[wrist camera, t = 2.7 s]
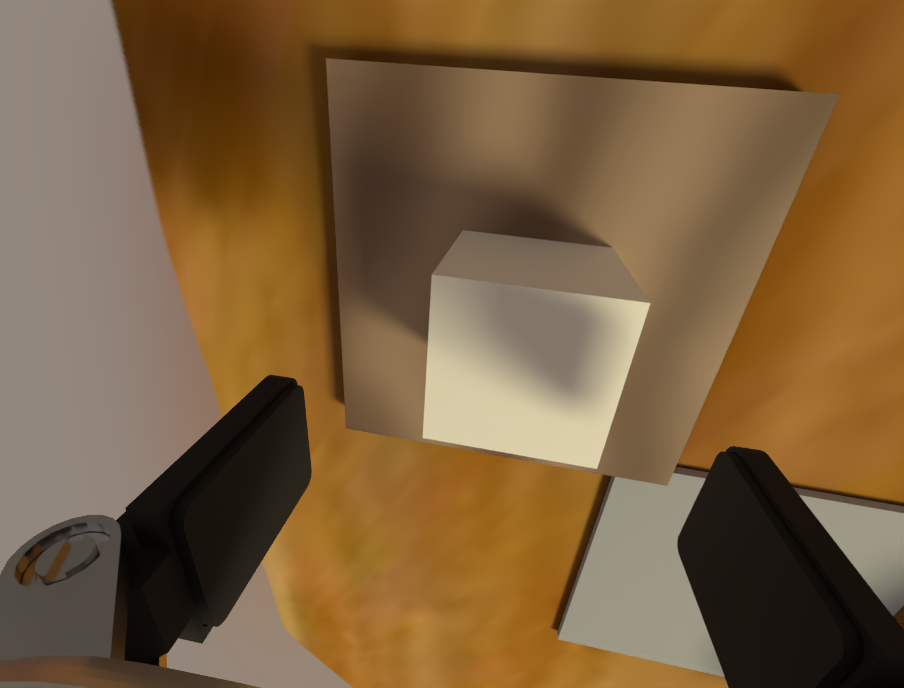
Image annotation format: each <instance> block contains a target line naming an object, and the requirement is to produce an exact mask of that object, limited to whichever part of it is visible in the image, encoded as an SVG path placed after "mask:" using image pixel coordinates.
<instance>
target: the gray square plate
mask: <svg viewBox="0 0 904 688" xmlns="http://www.w3.org/2000/svg"><path fill="white" fill-rule="evenodd" d="M708 473H709V472H703V471H697V470H692V469H686V468H680V467H675V470H674V472H673V474H672V476H671V479H670V481H669V483H668V486H664V485H659V484H653V483H648V482H642V481H637V480H631V479H625V478H620V477H614V476H611V479H610V482H609V485H608V488H607V491H606V493H605V496H604V499H603V502H602V505H601V508H600V511H599V514H598V516H597V519H596V522H595V525H594V528H593V531H592V534H591V537H590V539H589V542H588V545H587V548H586V551H585V554H584V557H583V559H582V562H581V565H580V568H579V571H578V574H577V577H576V580H575V582H574V585H573V588H572V591H571V594H570V597H569V600H568V603H567V605H566V608H565V611H564V614H563V617H562V620H561V623H560V626H559V628H558V631H557V632H558V639H560V640H564V641H568V642H573V643H577V644H582V645H586V646H590V647H595V648H599V649H603V650H608V651H612V652H617V653H621V654H625V655H630V656H634V657H639V658H643V659H647V660H652V661H656V662H661V663H665V664H669V665H674V666H678V667H683V668H687V669H691V670H696V671H700V672H705V673H709V674H713V675H718V676H722V677H725V676H724V673H723V671H722V668H721V665H720V663H719V660H718V657H717V655H716V652H715V649H714V647H713V644H712V641H711V639H710V636H709V633H708V631H707V628H706V625H705V623H704V620H703V617H702V615H701V612H700V609H699V607H698V604H697V601H696V599H695V596H694V593H693V591H692V588H691V585H690V583H689V580H688V577H687V575H686V572H685V569H684V567H683V564H682V561H681V559H680V556H679V553H678V548H677V541H678V536H679V534H680V532H681V530H682V527H683V525H684V523H685V521H686V519H687V517H688V515H689V513H690V511H691V509H692V507H693V504H694V502H695V500H696V498H697V496H698V494H699V492H700V490H701V488H702V486H703V484H704V481H705V479H706V477H707V475H708ZM793 488H794V489H795V490H796V492H797V493H798V494H799V496H800V497H801V498H802V499H803V501H804V502H805V503H806V505H807V506H808V507H809V509H810V510H811V511H812V512H813V514H814V515H815V516H816V518H817V519H818V520H819V521H820V523H821V524H822V525H823V527H824V528H825V529H826V531H827V532H828V533H829V534H830V536H831V537H832V538H833V540H834V541H835V542H836V543H837V545H838V546H839V547H840V549H841V550H842V551H843V552H844V554H845V555H846V556H847V558H848V559H849V560H850V562H851V563H852V564H853V565H854V567H855V568H856V569H857V571H858V572H859V573H860V574H861V576H862V577H863V578H864V580H865V581H866V582H867V584H868V585H869V586H870V587H871V589H872V590H873V591H874V593H875V594H876V595H877V596H878V598H879V599H880V600H881V602H882V603H883V604H884V605H885V607H886V608H887V609H888V611H889V612H890V613H891V615H892V616H894V615H895V614H896V613H897V612H898V611H899V610H900V609H901V608H902V607H903V606H904V506H899V505H893V504H887V503H882V502H876V501H870V500H864V499H859V498H853V497H847V496H841V495H836V494H830V493H824V492H818V491H813V490H807V489H801V488H795V487H793Z"/></svg>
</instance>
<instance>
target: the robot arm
mask: <svg viewBox="0 0 904 688" xmlns="http://www.w3.org/2000/svg"><path fill="white" fill-rule="evenodd" d="M310 479H311V460H310V450H309V440H308V430H307V420H306V409H305V399H304V391H303V388H302V386H299V385H297V382H296V380H295V379H293V378H288V377H281V376H275V375H269V376H267V377H266V378H265V379H263V380H262V381H261V382H260V383H259V384H258V385H257V386H256V387H255V388H254V389H253V390H252V391H251V392H250V393H248V394H247V395H246V396H245V397H244V398H243V399H242V400H241V401H240V402H239V403H238V404H237V405H236V406H234V407H233V408H232V409H231V410H230V411H229V412H228V413H227V414H226V415H225V416H224V417H223V418H222V419H221V420H219V421H218V422H217V423H216V424H215V425H214V426H213V427H212V428H211V429H210V430H209V431H208V432H207V433H206V434H204V435H203V436H202V437H201V438H200V439H199V440H198V441H197V442H196V443H195V444H194V445H193V446H192V447H190V448H189V449H188V450H187V451H186V452H185V453H184V454H183V455H182V456H181V457H180V458H179V459H178V460H177V461H175V462H174V463H173V464H172V465H171V466H170V467H169V468H168V469H167V470H166V471H165V472H164V473H163V474H162V475H160V477H158V478H157V479H156V480H155V481H154V482H153V483H152V484H151V485H150V486H149V487H148V488H146V490H144V491H143V492H142V493H141V494H140V495H139V496H138V497H137V498H136V499H135V500H134V501H133V502H131V503H130V504H129V505H128V506H127V507H126V512H125V513H124V514H123V515H121V516H120V517H119V518H118V519H117V520H116V521H115V520H114V519H113V518H111V517H107V516H104V515H87V516H82V517H77V518H72V519H69V520H67V521H64V522H61V523H59V524H56V525H54V526H52V527H50V528H48V529H46V530H44V531H43V532H41V533H39V534H38V535H36V536H34V537H33V538H32V539H30V540H29V541H28V542H26V543H25V544H24V545H22V546H21V547H20V548H19V549H18V550H17V551H16V552H15V553H14V554H13V555H12V556H11V557H10V559H9V560H8V561H7V563H6V565H5V567H4V569H3V570H2V572H1V575H0V688H259V687H254V686H250V685H246V684H242V683H237V682H233V681H227V680H223V679H218V678H213V677H208V676H203V675H199V674H194V673H188V672H184V671H179V670H174V669H169V668H167V653H168V652H169V650H170V649H171V648H172V646H173V645H174V643H175V642H176V640H177V639H178V638H180V639H184V640H189V641H194V642H198V643H203V642H204V640H205V639H206V637H207V635H208V634H209V632H210V631H211V629H212V627H213V626H215V627H218V626H219V625H221V624H222V623H223V622H224V620H225V619H226V618H227V616H228V615H229V613H230V611H231V610H232V608H233V607H234V605H235V603H236V602H237V600H238V598H239V597H240V595H241V593H242V592H243V590H244V589H245V587H246V585H247V584H248V582H249V581H250V579H251V577H252V576H253V574H254V573H255V571H256V569H257V567H258V566H259V564H260V563H261V561H262V560H263V558H264V556H265V555H266V553H267V551H268V550H269V548H270V547H271V545H272V543H273V542H274V540H275V538H276V537H277V535H278V534H279V532H280V530H281V529H282V527H283V526H284V524H285V522H286V521H287V519H288V517H289V516H290V514H291V513H292V511H293V509H294V508H295V506H296V504H297V503H298V501H299V500H300V498H301V496H302V495H303V493H304V492H305V490H306V488H307V486H308V485H309V482H310ZM677 548H678V553H679V556H680V559H681V561H682V564H683V567H684V569H685V572H686V575H687V577H688V580H689V583H690V585H691V588H692V591H693V593H694V596H695V599H696V601H697V604H698V607H699V609H700V612H701V615H702V617H703V620H704V623H705V625H706V628H707V631H708V633H709V636H710V639H711V641H712V644H713V647H714V649H715V652H716V655H717V657H718V660H719V663H720V665H721V668H722V671H723V673H724V676H725V679H726V681H727V684H728V687H729V688H904V630H903V629H902V627H901V626H900V625H899V624H898V622H897V621H896V620H895V618H894V617H893V616H892V615H891V613H890V612H889V611H888V609H887V608H886V607H885V605H884V604H883V603H882V602H881V600H880V599H879V598H878V596H877V595H876V594H875V593H874V591H873V590H872V589H871V587H870V586H869V585H868V584H867V582H866V581H865V580H864V578H863V577H862V576H861V574H860V573H859V572H858V571H857V569H856V568H855V567H854V565H853V564H852V563H851V562H850V560H849V559H848V558H847V556H846V555H845V554H844V552H843V551H842V550H841V549H840V547H839V546H838V545H837V543H836V542H835V541H834V540H833V538H832V537H831V536H830V534H829V533H828V532H827V531H826V529H825V528H824V527H823V525H822V524H821V523H820V521H819V520H818V519H817V518H816V516H815V515H814V514H813V512H812V511H811V510H810V509H809V507H808V506H807V505H806V503H805V502H804V501H803V499H802V498H801V497H800V496H799V494H798V493H797V492H796V490H795V489H794V488H793V487H792V485H791V484H790V483H789V481H788V480H787V479H786V478H785V476H784V475H783V474H782V472H781V471H780V470H779V468H778V467H777V466H776V465H775V463H774V462H773V461H772V459H771V458H770V457H769V456H768V455H767V454H766V453H765V452H764V451H761V450H755V449H748V448H742V447H735V446H733V447H730V448H728V449H727V450H726V452H720V453H719V454H718V455H717V456H716V458H715V461H714V463H713V465H712V467H711V469H710V471H709V473H708V475H707V477H706V479H705V481H704V484H703V486H702V488H701V490H700V492H699V494H698V496H697V498H696V500H695V502H694V504H693V507H692V509H691V511H690V513H689V515H688V517H687V519H686V521H685V523H684V525H683V527H682V530H681V532H680V534H679V536H678V541H677Z"/></svg>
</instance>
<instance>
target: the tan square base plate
mask: <svg viewBox="0 0 904 688" xmlns="http://www.w3.org/2000/svg"><path fill="white" fill-rule="evenodd" d="M326 71H327V89H328V107H329V126H330V144H331V162H332V180H333V199H334V217H335V235H336V254H337V272H338V290H339V309H340V327H341V345H342V364H343V382H344V400H345V418H346V428H347V429H352V430H358V431H363V432H369V433H375V434H380V435H386V436H391V437H397V438H402V439H408V440H414V441H419V442H425V443H430V444H436V445H441V446H447V447H453V448H458V449H464V450H469V451H475V452H480V453H486V454H492V455H497V456H503V457H508V458H514V459H519V460H525V461H531V462H536V463H542V464H547V465H553V466H558V467H564V468H570V469H575V470H581V471H586V472H592V473H598V474H603V475H609V476H614V477H620V478H625V479H631V480H637V481H642V482H648V483H653V484H659V485H664V486H668V483H669V481H670V479H671V476H672V474H673V472H674V470H675V467H676V465H677V463H678V461H679V458H680V456H681V454H682V451H683V449H684V447H685V445H686V442H687V440H688V438H689V436H690V433H691V431H692V429H693V426H694V424H695V422H696V420H697V417H698V415H699V413H700V411H701V408H702V406H703V404H704V401H705V399H706V397H707V395H708V392H709V390H710V388H711V386H712V383H713V381H714V379H715V376H716V374H717V372H718V370H719V367H720V365H721V363H722V361H723V358H724V356H725V354H726V352H727V349H728V347H729V345H730V342H731V340H732V338H733V336H734V333H735V331H736V329H737V327H738V324H739V322H740V320H741V317H742V315H743V313H744V311H745V308H746V306H747V304H748V302H749V299H750V297H751V295H752V292H753V290H754V288H755V286H756V283H757V281H758V279H759V277H760V274H761V272H762V270H763V267H764V265H765V263H766V261H767V258H768V256H769V254H770V252H771V249H772V247H773V245H774V242H775V240H776V238H777V236H778V233H779V231H780V229H781V227H782V224H783V222H784V220H785V218H786V215H787V213H788V211H789V208H790V206H791V204H792V202H793V199H794V197H795V195H796V193H797V190H798V188H799V186H800V183H801V181H802V179H803V177H804V174H805V172H806V170H807V168H808V165H809V163H810V161H811V158H812V156H813V154H814V152H815V149H816V147H817V145H818V143H819V140H820V138H821V136H822V133H823V131H824V129H825V127H826V124H827V122H828V120H829V118H830V115H831V113H832V111H833V108H834V106H835V104H836V102H837V99H838V97H839V95H840V94H827V93H813V92H799V91H785V90H770V89H756V88H742V87H728V86H713V85H699V84H685V83H671V82H656V81H642V80H628V79H614V78H599V77H585V76H571V75H557V74H542V73H528V72H514V71H500V70H485V69H471V68H457V67H443V66H429V65H414V64H400V63H386V62H372V61H357V60H343V59H329V58H326ZM463 230H466V231H474V232H483V233H491V234H500V235H509V236H517V237H526V238H534V239H543V240H551V241H560V242H569V243H577V244H586V245H594V246H603V247H611V248H614V250H615V251H616V253H617V254H618V256H619V257H620V259H621V260H622V262H623V263H624V265H625V266H626V268H627V269H628V271H629V272H630V274H631V275H632V276H633V278H634V279H635V281H636V282H637V284H638V285H639V287H640V288H641V290H642V291H643V293H644V294H645V296H646V297H647V299H648V300H649V302H650V306H649V309H648V312H647V315H646V319H645V322H644V325H643V328H642V331H641V334H640V337H639V340H638V343H637V346H636V350H635V353H634V356H633V359H632V362H631V365H630V368H629V371H628V374H627V378H626V381H625V384H624V387H623V390H622V393H621V396H620V399H619V402H618V405H617V409H616V412H615V415H614V418H613V421H612V424H611V427H610V430H609V433H608V436H607V440H606V443H605V446H604V449H603V452H602V455H601V458H600V461H599V464H598V467H597V469H594V468H588V467H583V466H577V465H571V464H566V463H560V462H555V461H549V460H543V459H538V458H532V457H526V456H521V455H515V454H510V453H504V452H498V451H493V450H487V449H482V448H476V447H470V446H465V445H459V444H454V443H448V442H442V441H437V440H431V439H425V438H423V422H424V404H425V386H426V368H427V350H428V332H429V314H430V296H431V278H432V273H433V272H434V271H435V269H436V268H437V266H438V265H439V264H440V262H441V261H442V259H443V258H444V256H445V255H446V254H447V252H448V251H449V249H450V248H451V247H452V245H453V244H454V242H455V241H456V239H457V238H458V237H459V235H460V234H461V232H462V231H463Z"/></svg>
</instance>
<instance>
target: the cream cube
mask: <svg viewBox="0 0 904 688" xmlns="http://www.w3.org/2000/svg"><path fill="white" fill-rule="evenodd" d="M649 306H650V302H649V300H648V299H647V297H646V296H645V294H644V293H643V291H642V290H641V288H640V287H639V285H638V284H637V282H636V281H635V279H634V278H633V276H632V275H631V274H630V272H629V271H628V269H627V268H626V266H625V265H624V263H623V262H622V260H621V259H620V257H619V256H618V254H617V253H616V251H615V250H614V248H611V247H603V246H594V245H586V244H577V243H569V242H560V241H551V240H543V239H534V238H526V237H517V236H509V235H500V234H491V233H483V232H474V231H466V230H463V231H462V232H461V234H460V235H459V237H458V238H457V239H456V241H455V242H454V244H453V245H452V247H451V248H450V249H449V251H448V252H447V254H446V255H445V256H444V258H443V259H442V261H441V262H440V264H439V265H438V266H437V268H436V269H435V271H434V272H433V273H432V278H431V296H430V314H429V332H428V350H427V368H426V386H425V404H424V422H423V438H425V439H431V440H437V441H442V442H448V443H454V444H459V445H465V446H470V447H476V448H482V449H487V450H493V451H498V452H504V453H510V454H515V455H521V456H526V457H532V458H538V459H543V460H549V461H555V462H560V463H566V464H571V465H577V466H583V467H588V468H594V469H597V467H598V464H599V461H600V458H601V455H602V452H603V449H604V446H605V443H606V440H607V436H608V433H609V430H610V427H611V424H612V421H613V418H614V415H615V412H616V409H617V405H618V402H619V399H620V396H621V393H622V390H623V387H624V384H625V381H626V378H627V374H628V371H629V368H630V365H631V362H632V359H633V356H634V353H635V350H636V346H637V343H638V340H639V337H640V334H641V331H642V328H643V325H644V322H645V319H646V315H647V312H648V309H649Z"/></svg>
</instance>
